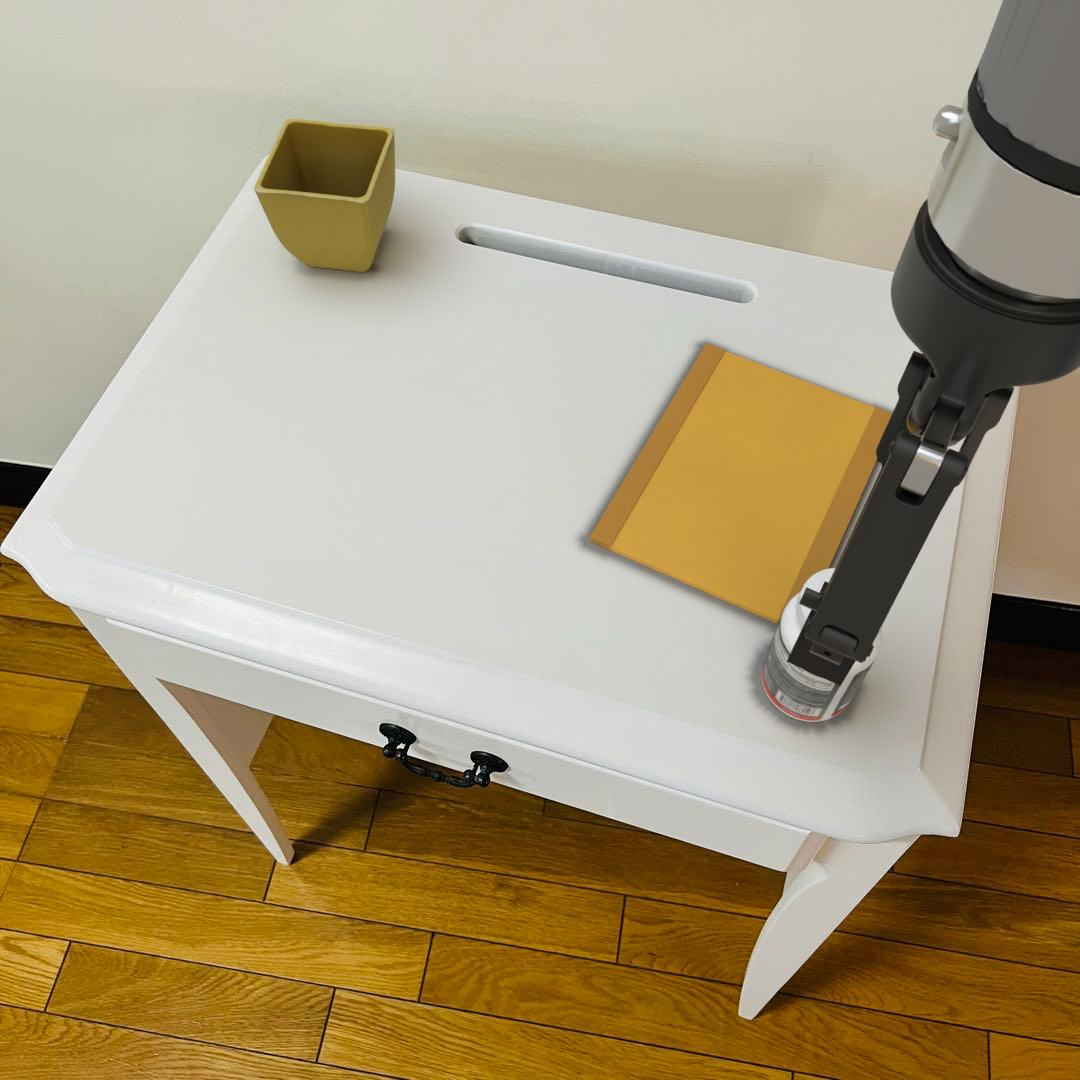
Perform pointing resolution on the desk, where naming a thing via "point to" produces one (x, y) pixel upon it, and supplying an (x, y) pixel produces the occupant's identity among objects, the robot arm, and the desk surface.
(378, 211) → the flower pot
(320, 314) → the desk surface
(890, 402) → the desk surface
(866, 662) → the pill bottle
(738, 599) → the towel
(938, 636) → the desk surface
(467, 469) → the desk surface
